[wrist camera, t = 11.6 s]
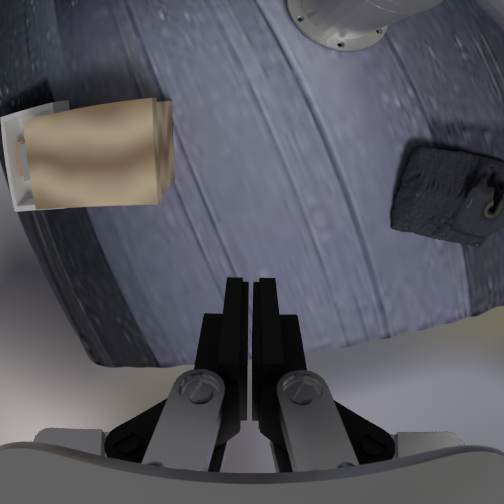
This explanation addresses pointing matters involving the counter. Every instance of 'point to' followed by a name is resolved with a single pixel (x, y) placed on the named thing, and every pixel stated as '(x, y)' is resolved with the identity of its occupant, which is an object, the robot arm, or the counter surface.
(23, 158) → the slate tile
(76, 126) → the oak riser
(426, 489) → the robot arm
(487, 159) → the black flat block
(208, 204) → the counter surface
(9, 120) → the tray
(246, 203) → the counter surface
